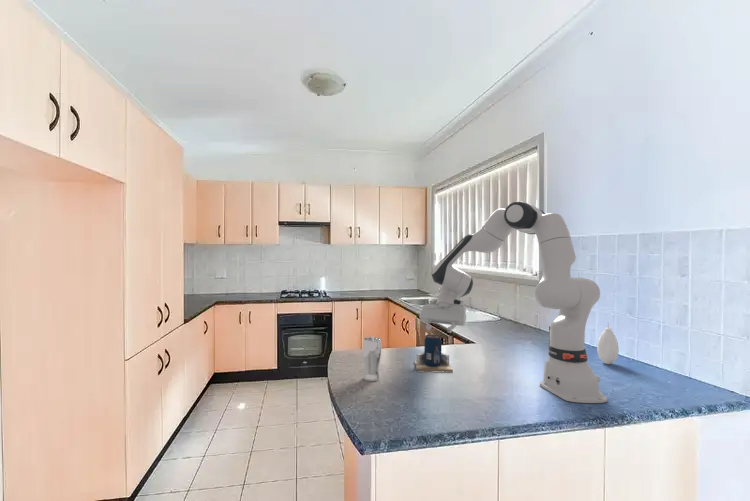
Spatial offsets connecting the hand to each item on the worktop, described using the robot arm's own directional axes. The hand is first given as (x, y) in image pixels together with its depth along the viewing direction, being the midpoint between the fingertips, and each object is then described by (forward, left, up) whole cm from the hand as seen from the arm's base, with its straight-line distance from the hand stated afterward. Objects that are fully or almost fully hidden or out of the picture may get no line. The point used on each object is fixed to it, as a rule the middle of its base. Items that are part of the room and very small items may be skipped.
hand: (438, 330), depth 164 cm
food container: (+30, -64, -15) cm, 72 cm away
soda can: (-5, +3, -13) cm, 15 cm away
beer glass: (-20, +28, -14) cm, 37 cm away
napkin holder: (-4, +3, -14) cm, 15 cm away
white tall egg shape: (+5, -74, -14) cm, 76 cm away
